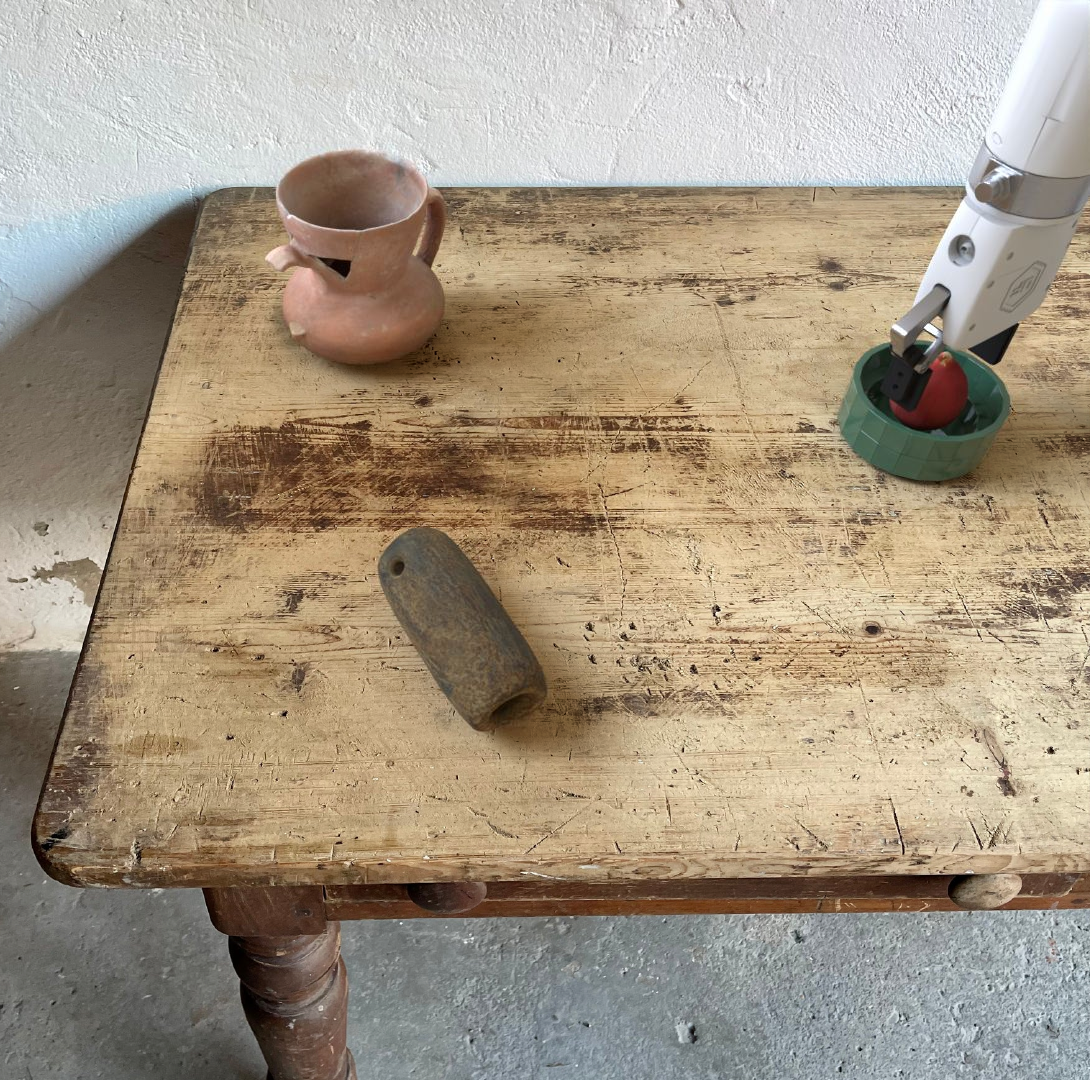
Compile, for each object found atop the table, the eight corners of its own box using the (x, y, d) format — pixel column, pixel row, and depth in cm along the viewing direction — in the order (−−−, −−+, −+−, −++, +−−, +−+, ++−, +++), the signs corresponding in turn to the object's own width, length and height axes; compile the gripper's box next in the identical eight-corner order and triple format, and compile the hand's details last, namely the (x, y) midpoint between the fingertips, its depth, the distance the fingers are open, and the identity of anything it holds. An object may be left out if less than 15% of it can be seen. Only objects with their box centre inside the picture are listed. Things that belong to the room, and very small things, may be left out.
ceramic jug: (334, 411, 85) (313, 266, 74) (246, 328, 92) (214, 183, 81) (496, 328, 92) (500, 184, 81) (403, 256, 99) (394, 114, 88)
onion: (892, 395, 86) (926, 318, 80) (958, 422, 84) (997, 345, 78) (866, 433, 83) (899, 356, 77) (933, 462, 81) (972, 386, 75)
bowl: (904, 368, 89) (924, 322, 85) (1015, 448, 83) (1043, 402, 79) (805, 419, 85) (822, 373, 81) (915, 507, 79) (939, 462, 75)
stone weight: (363, 605, 73) (354, 545, 67) (444, 564, 75) (441, 504, 70) (476, 758, 65) (476, 704, 60) (562, 707, 68) (569, 651, 62)
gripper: (991, 245, 61) (900, 448, 75) (1163, 160, 67) (1049, 363, 80) (898, 189, 65) (827, 392, 79) (1068, 114, 71) (974, 315, 84)
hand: (939, 377), depth 79 cm, fingers open, 9 cm apart
